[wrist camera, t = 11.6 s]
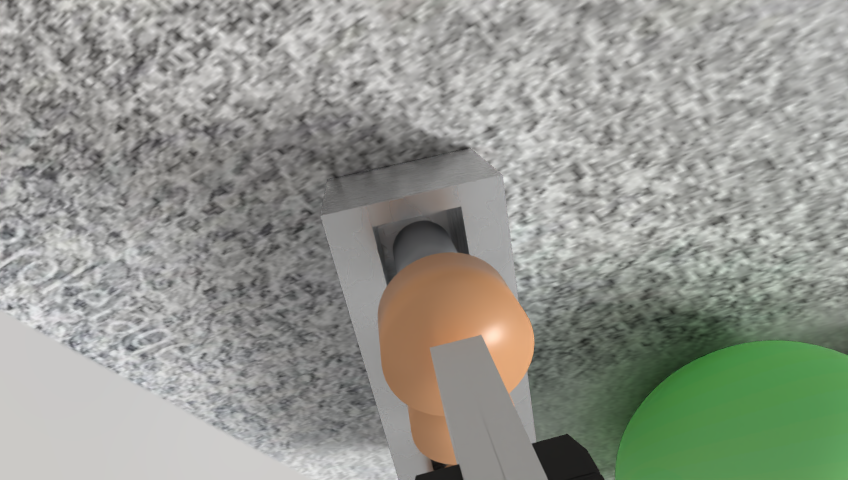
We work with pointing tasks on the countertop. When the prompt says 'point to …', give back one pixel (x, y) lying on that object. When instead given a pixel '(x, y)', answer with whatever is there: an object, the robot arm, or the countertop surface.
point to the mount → (375, 267)
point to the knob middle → (432, 436)
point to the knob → (445, 315)
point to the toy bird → (744, 417)
